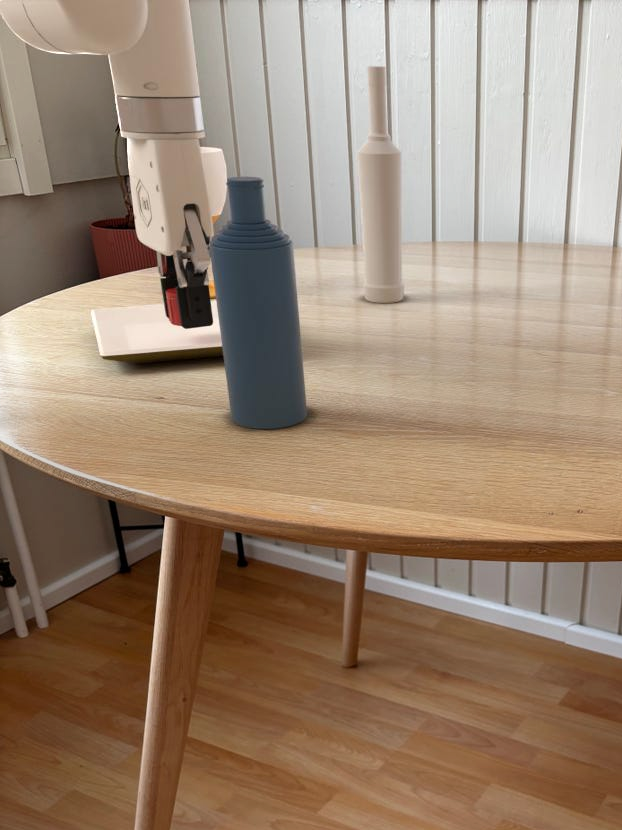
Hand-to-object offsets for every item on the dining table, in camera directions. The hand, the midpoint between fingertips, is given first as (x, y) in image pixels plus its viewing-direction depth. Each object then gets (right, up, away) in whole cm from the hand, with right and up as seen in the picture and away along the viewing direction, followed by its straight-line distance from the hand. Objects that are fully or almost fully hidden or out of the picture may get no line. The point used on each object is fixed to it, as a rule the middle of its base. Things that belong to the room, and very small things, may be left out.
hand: (189, 320), depth 97 cm
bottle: (+18, +10, +22) cm, 30 cm away
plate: (-1, -1, +3) cm, 4 cm away
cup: (-5, +12, +24) cm, 27 cm away
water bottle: (+12, -14, -16) cm, 24 cm away
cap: (0, 0, 0) cm, 0 cm away
